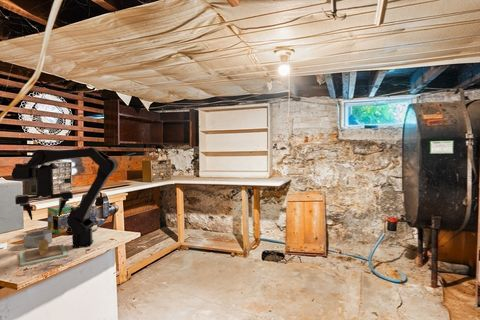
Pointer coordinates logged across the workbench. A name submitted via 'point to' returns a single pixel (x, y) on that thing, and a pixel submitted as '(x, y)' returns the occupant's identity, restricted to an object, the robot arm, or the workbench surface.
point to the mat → (24, 263)
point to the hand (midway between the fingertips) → (45, 217)
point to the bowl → (37, 238)
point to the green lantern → (54, 212)
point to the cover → (43, 251)
